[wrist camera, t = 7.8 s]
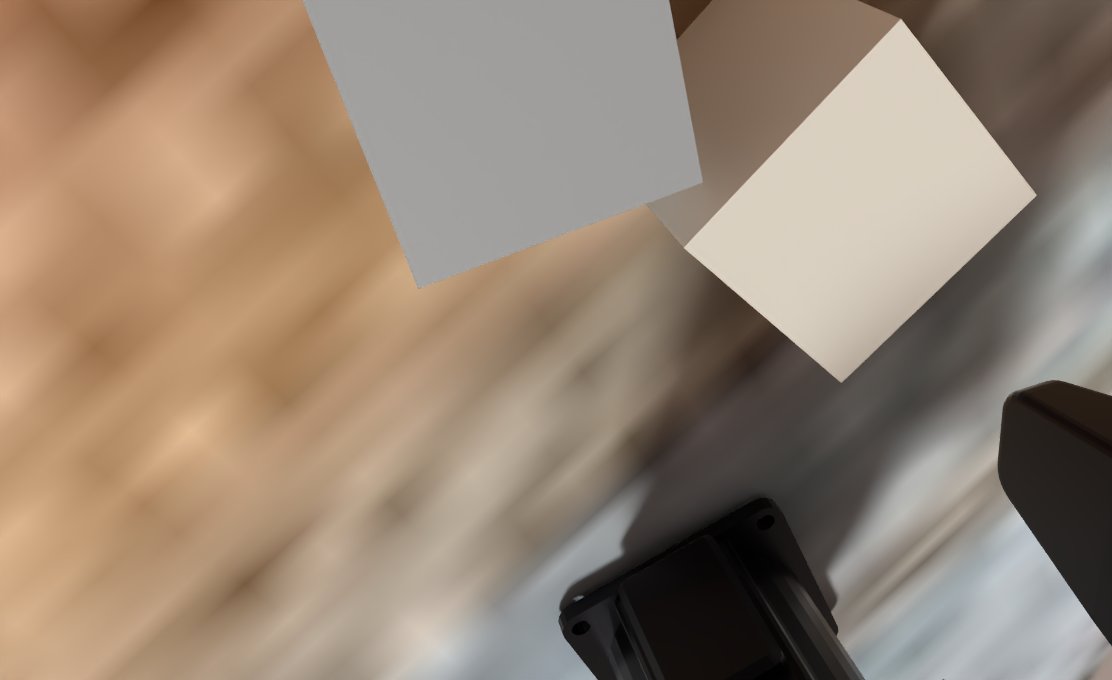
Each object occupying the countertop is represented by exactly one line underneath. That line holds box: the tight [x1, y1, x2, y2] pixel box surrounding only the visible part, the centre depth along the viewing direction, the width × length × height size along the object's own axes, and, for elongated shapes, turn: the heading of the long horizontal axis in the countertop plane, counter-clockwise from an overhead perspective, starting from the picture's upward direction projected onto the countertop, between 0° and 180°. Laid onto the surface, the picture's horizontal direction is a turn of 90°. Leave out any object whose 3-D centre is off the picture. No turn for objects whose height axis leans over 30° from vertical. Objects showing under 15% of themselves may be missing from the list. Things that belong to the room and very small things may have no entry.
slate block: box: [303, 0, 703, 289], centre depth 15 cm, size 4×4×5 cm
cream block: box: [646, 0, 1037, 383], centre depth 18 cm, size 4×4×5 cm
